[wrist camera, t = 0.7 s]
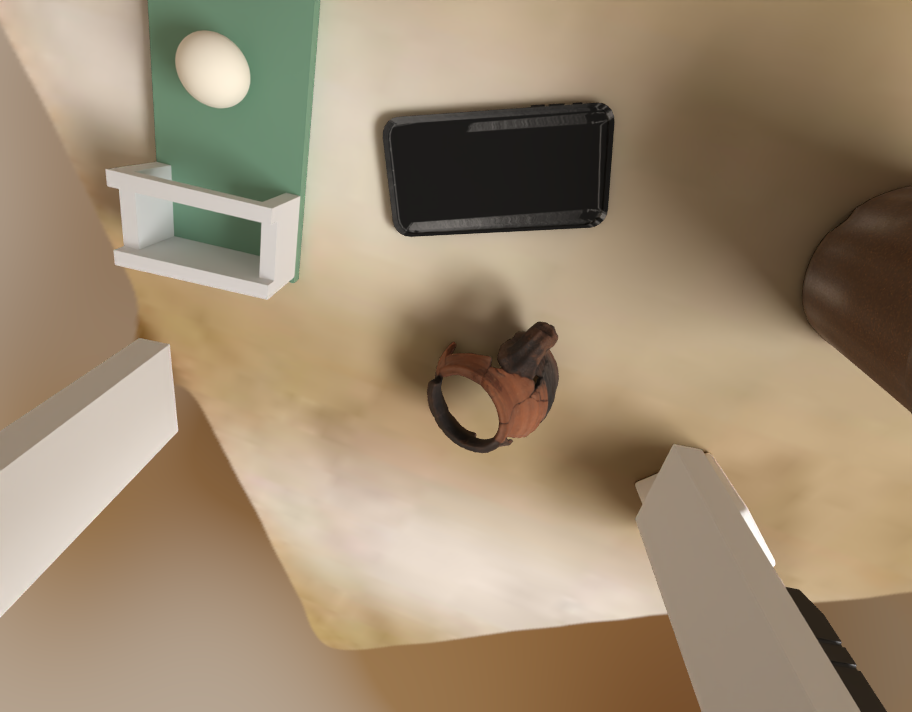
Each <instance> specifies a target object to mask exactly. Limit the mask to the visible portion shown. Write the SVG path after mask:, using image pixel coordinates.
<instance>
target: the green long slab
mask: <svg viewBox="0 0 912 712" xmlns="http://www.w3.org/2000/svg"><path fill="white" fill-rule="evenodd" d="M319 10H320V0H148V14H149V33H150V51H151V69H152V87H153V105H154V124H155V142H156V160H157V162H151V163H144V164H137V165H131V166H124V167H117V168H110V169H105V170H106V180H107V186H108V187H112V188H117V189H119V196H120V207H121V218H122V229H123V240H124V246H123V247H121V248H118V249H115V250H114V258H115V265H118V266H122V267H127V268H131V269H135V270H140V271H144V272H148V273H153V274H157V275H162V276H166V277H170V278H175V279H179V280H184V281H188V282H192V283H197V284H201V285H205V286H210V287H214V288H219V289H223V290H227V291H232V292H236V293H240V294H245V295H249V296H254V297H258V298H262V299H267V300H268V299H269V298H270V297H271V296H272V295H274V294H275V293H276V292H277V291H278V290H280V289H281V288H282V287H283V286H284V285H285V284H287V283H288V282H291V283H295V282H296V281H297V280H298V279H299V266H300V253H301V241H302V228H303V215H304V202H305V190H306V177H307V164H308V151H309V138H310V126H311V113H312V100H313V87H314V74H315V62H316V49H317V36H318V23H319ZM202 30H207V31H213V32H217V33H219V34H221V35H223V36H225V37H227V38H228V39H230V40H231V41H232V42H233V43H235V44H236V46H237V47H238V48H239V49H240V50H241V52H242V53H243V55H244V56H245V58H246V60H247V63H248V66H249V70H250V86H249V90H248V92H247V94H246V96H245V97H244V98H243V100H242V101H241V102H239V103H238V104H236V105H234V106H232V107H229V108H214V107H210V106H207V105H205V104H203V103H201V102H199V101H198V100H196V99H195V98H194V97H193V96H191V95H190V94H189V93H188V91H187V90H186V89H185V87H184V86H183V85H182V83H181V81H180V79H179V77H178V74H177V70H176V64H175V57H176V51H177V48H178V46H179V44H180V43H181V41H182V40H183V39H184V38H185V37H186V36H187V35H189V34H191V33H193V32H196V31H202Z"/></svg>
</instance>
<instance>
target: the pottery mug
mask: <svg viewBox="0 0 912 712" xmlns="http://www.w3.org/2000/svg"><path fill="white" fill-rule="evenodd" d="M557 340H558V335H557V333H556V331H555V328H554V326H552V325H549V324H548V323H546V322H537V323H535V324H534V325H533V326H532V327H531V328H529V329H528V330H527V331H526V332H518V333H516V334H515V335H514V337H513V338H512V339H509V340H507V341H506V342H505V343H503V344H502V345H501V347H500V349H499V353H498V358H497V360H498V363H499V365H500V366H501V367H502V368H495V367H492V366H491V362H492V358H491V357H489V356H484V355H477V354H473V353H455V354H452V353H453V351H454V350H455V348H456V343H455V342H452V343H451V344H450V345H449V346H448V347H447V349H446V350H445V351H444V353H443V354H442V355H441V357H440V359H439V362H438V365H437V367H436V372H435V379H433V380H431V381H430V382H429V383H428V389H427V395H428V404H429V408H430V410H431V413H432V415H433V417H435V421H436V423H437V424H438V426H439V428H440V429H442V431H443V432H444V433H445V435H446V436H447V437H448V438H450V439H451V440H452V441H453V442H454V443H455V444H457V445H459V446H460V447H463V448H465V449H467V450H470V451H473V452H479V453H488V452H490V451H493V450H495V449H496V448H498V447H501V446H506V445H510V444H511V443H512V442H513V440H511V439H509V440H508V439H507V437H513V438H515V437H517V438H521V437H526V436H528V435H529V434H530V433H531V432H533V431H534V430H535V429H536V428H537V427H538V426H539V424H540V423H541V422H542V421H543V420H544V419H545V418H546V416H547V414H548V413H549V411H550V409H551V406H552V404H553V402H554V398H555V392H556V389H557V386H558V380H559V375H558V367H557V363H556V361H555V359H554V357H553V355H552V353H551V351H550V350H549V349H550V348H551V347H553V346H554V345H555V343H556V342H557ZM451 375H461V376H464V377H467V378H469V379H471V380H473V381H475V382H476V383H478V384H480V385H481V386H482V387H483V388H484V389H485V391H486V392H487V393H488V395H489V396H490V397H491V399H492V401H493V403H494V404H495V407H496V409H497V412H498V417H499V428H498V431H497V433H496V435H495V436H494V437H493V438H491V439H479V438H476V433H474V432H471V431H468V430H466V429H465V428H464V427H462V426H461V425H460V424H459V423H458V422H457V420H456V419H455V418H454V417H453V416H452V414H451V413H450V412H449V410H448V407H447V404H446V402H445V400H444V397H443V395H442V391H441V384H442V380H443V377H447V376H451ZM535 375H537V376H538V379H537V382H536V384H534V381H533V378H534V377H535Z"/></svg>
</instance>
